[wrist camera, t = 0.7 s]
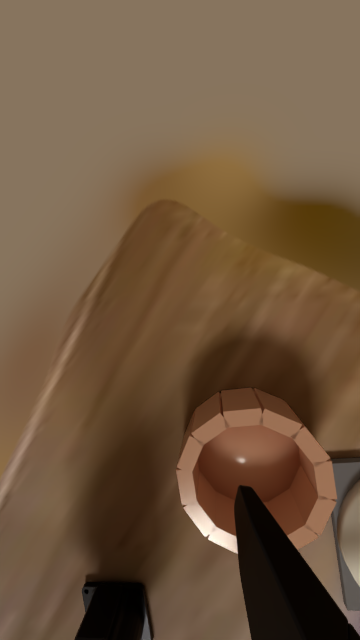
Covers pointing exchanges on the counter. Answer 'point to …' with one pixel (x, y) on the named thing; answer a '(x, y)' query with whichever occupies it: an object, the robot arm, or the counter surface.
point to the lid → (350, 530)
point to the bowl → (254, 466)
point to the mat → (345, 478)
